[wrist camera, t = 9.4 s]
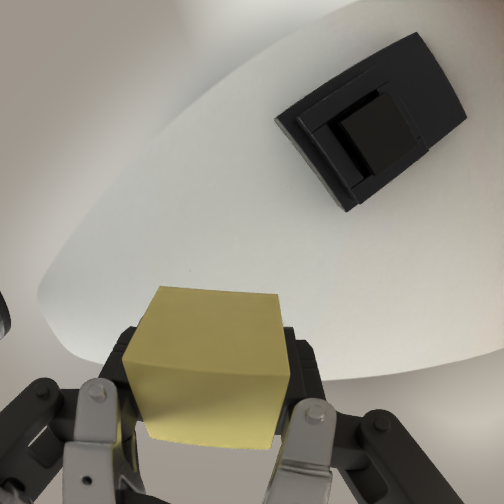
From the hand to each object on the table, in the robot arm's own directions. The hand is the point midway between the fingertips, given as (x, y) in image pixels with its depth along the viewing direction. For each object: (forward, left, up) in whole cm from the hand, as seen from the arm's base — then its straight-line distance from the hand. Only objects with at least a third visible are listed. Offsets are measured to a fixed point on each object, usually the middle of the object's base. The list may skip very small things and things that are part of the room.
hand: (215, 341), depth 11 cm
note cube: (0, 0, 0) cm, 0 cm away
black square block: (+7, +10, -8) cm, 14 cm away
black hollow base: (+9, +12, -11) cm, 19 cm away
